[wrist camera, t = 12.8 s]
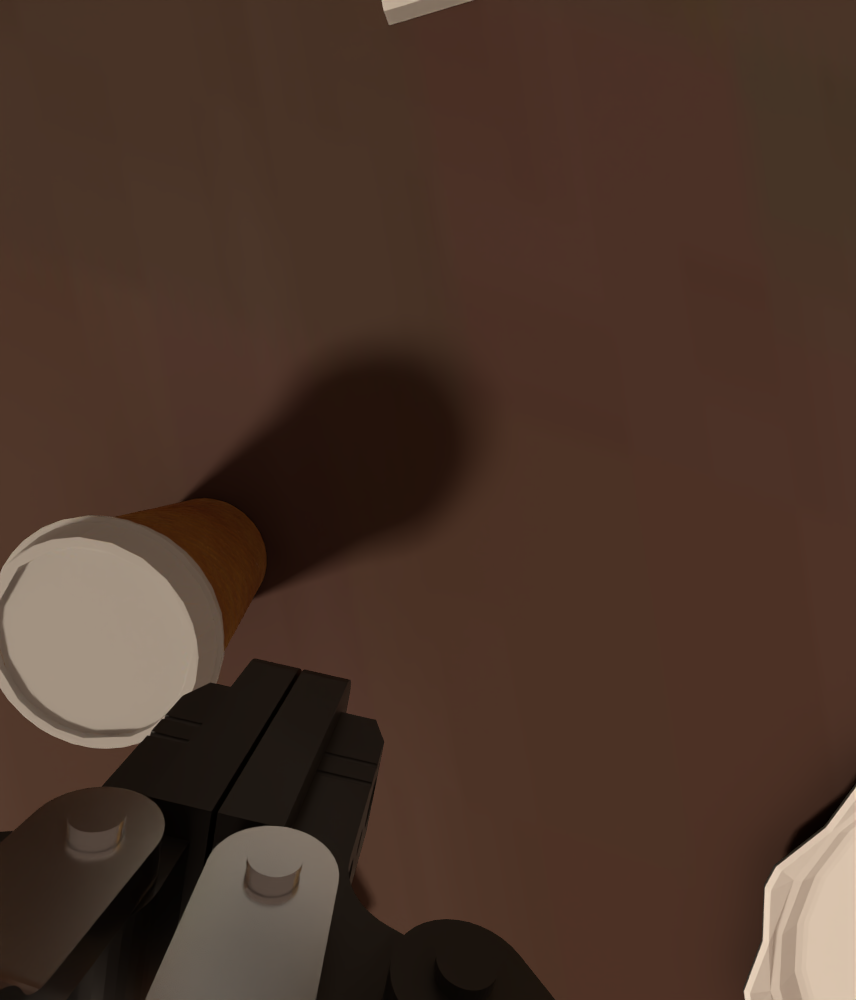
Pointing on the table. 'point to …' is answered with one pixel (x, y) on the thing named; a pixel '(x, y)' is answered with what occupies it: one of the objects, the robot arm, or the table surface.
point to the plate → (811, 918)
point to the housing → (414, 8)
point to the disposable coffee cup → (123, 616)
